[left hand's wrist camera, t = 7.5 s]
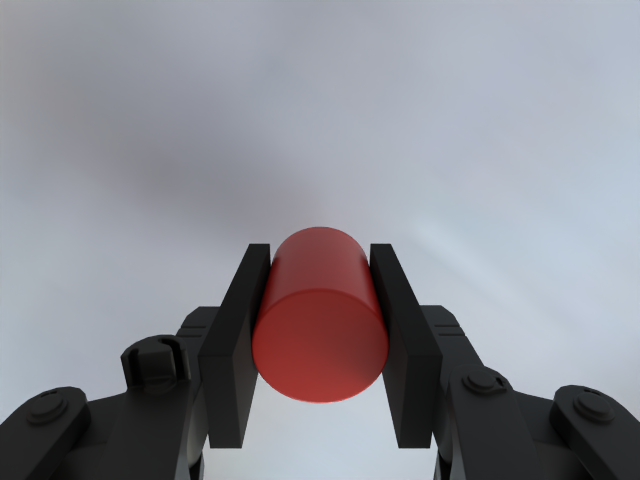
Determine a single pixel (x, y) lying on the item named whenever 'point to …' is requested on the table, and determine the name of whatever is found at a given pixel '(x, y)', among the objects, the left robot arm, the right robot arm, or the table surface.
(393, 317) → the left robot arm
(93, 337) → the table surface
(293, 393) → the can
